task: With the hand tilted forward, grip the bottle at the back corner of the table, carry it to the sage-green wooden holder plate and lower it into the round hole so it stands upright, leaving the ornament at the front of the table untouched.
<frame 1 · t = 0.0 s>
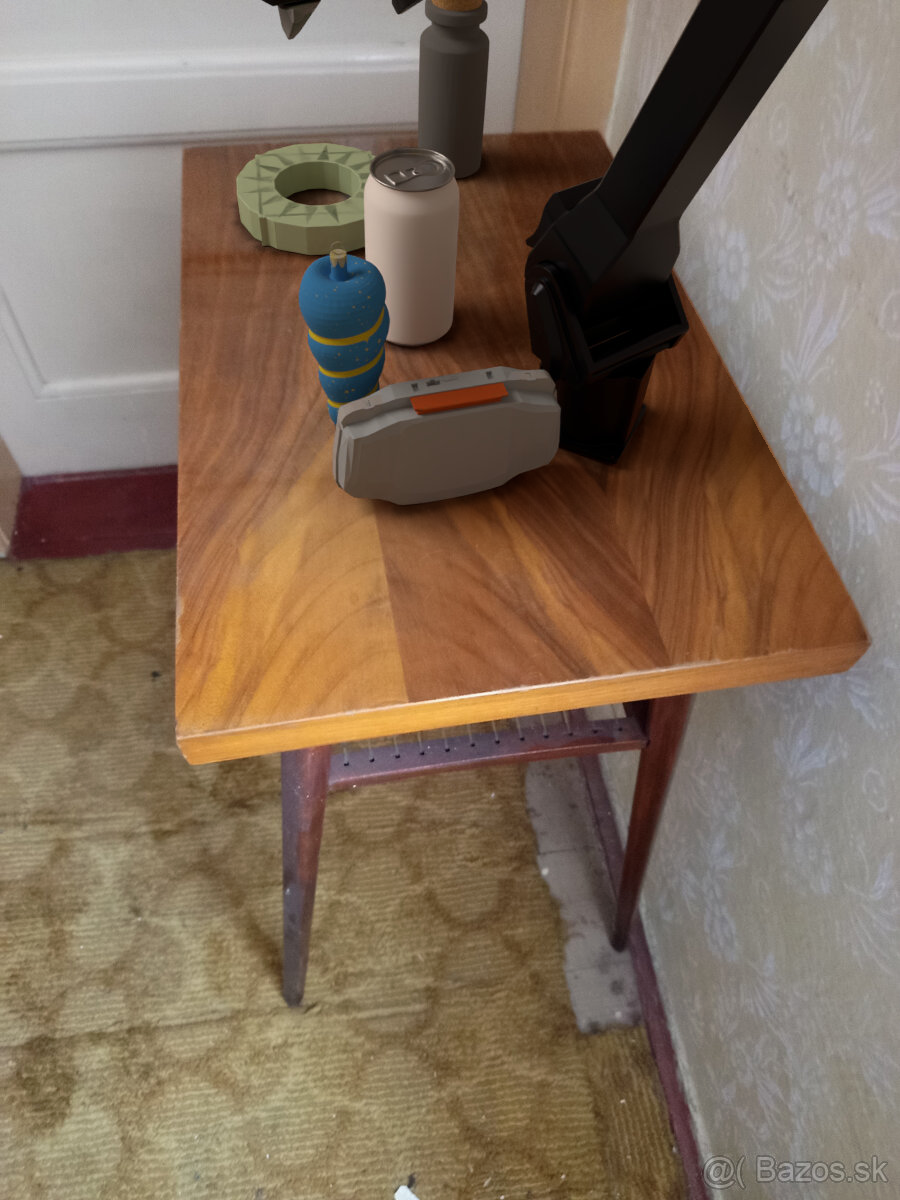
hand: (343, 20, 67), 15 cm above the table, tool tilted 35°, fingers open, 9 cm apart
holder: (319, 210, 78), on the table
ornament: (352, 450, 61), on the table
bottle: (449, 165, 84), on the table
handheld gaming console: (446, 486, 60), on the table
can: (410, 324, 70), on the table
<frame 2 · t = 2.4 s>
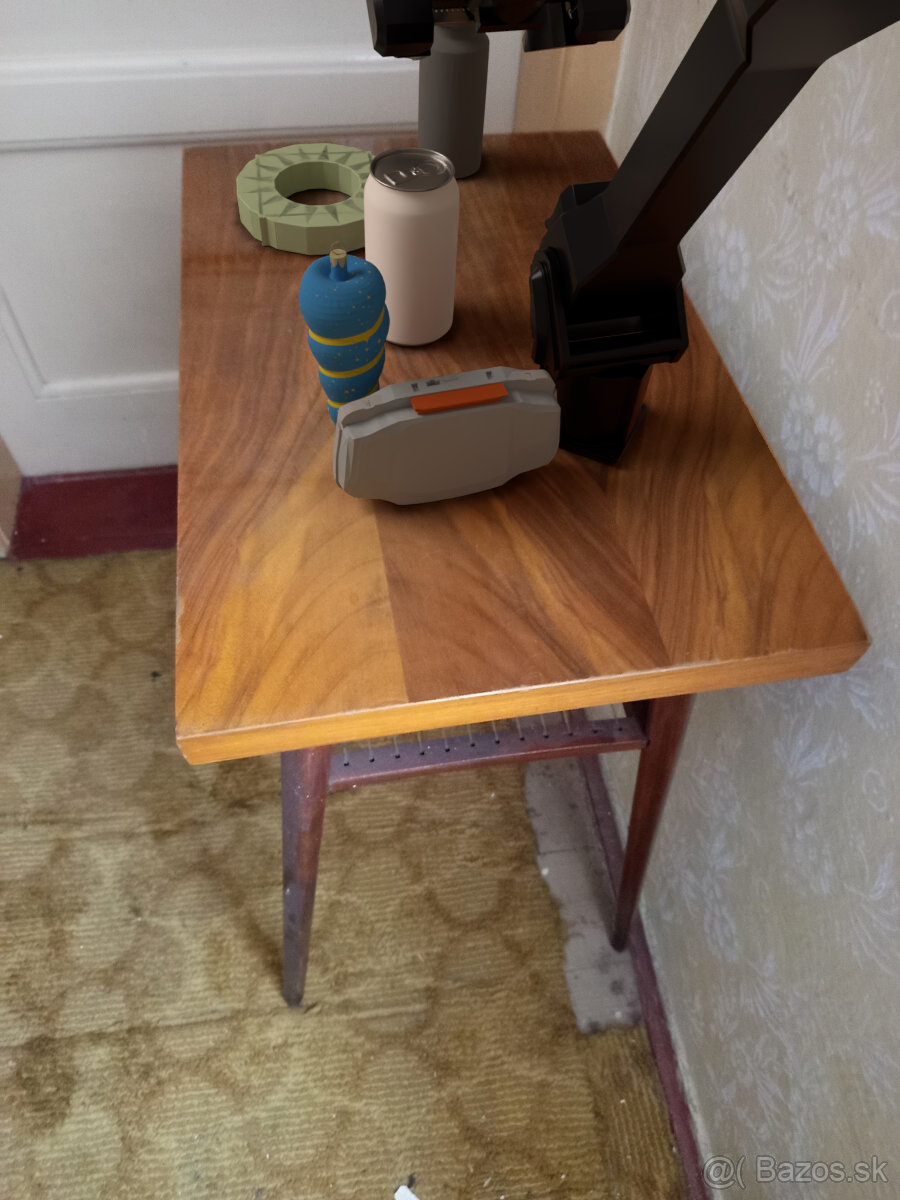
hand: (470, 49, 73), 11 cm above the table, tool tilted 45°, fingers open, 9 cm apart
nothing on the table moved.
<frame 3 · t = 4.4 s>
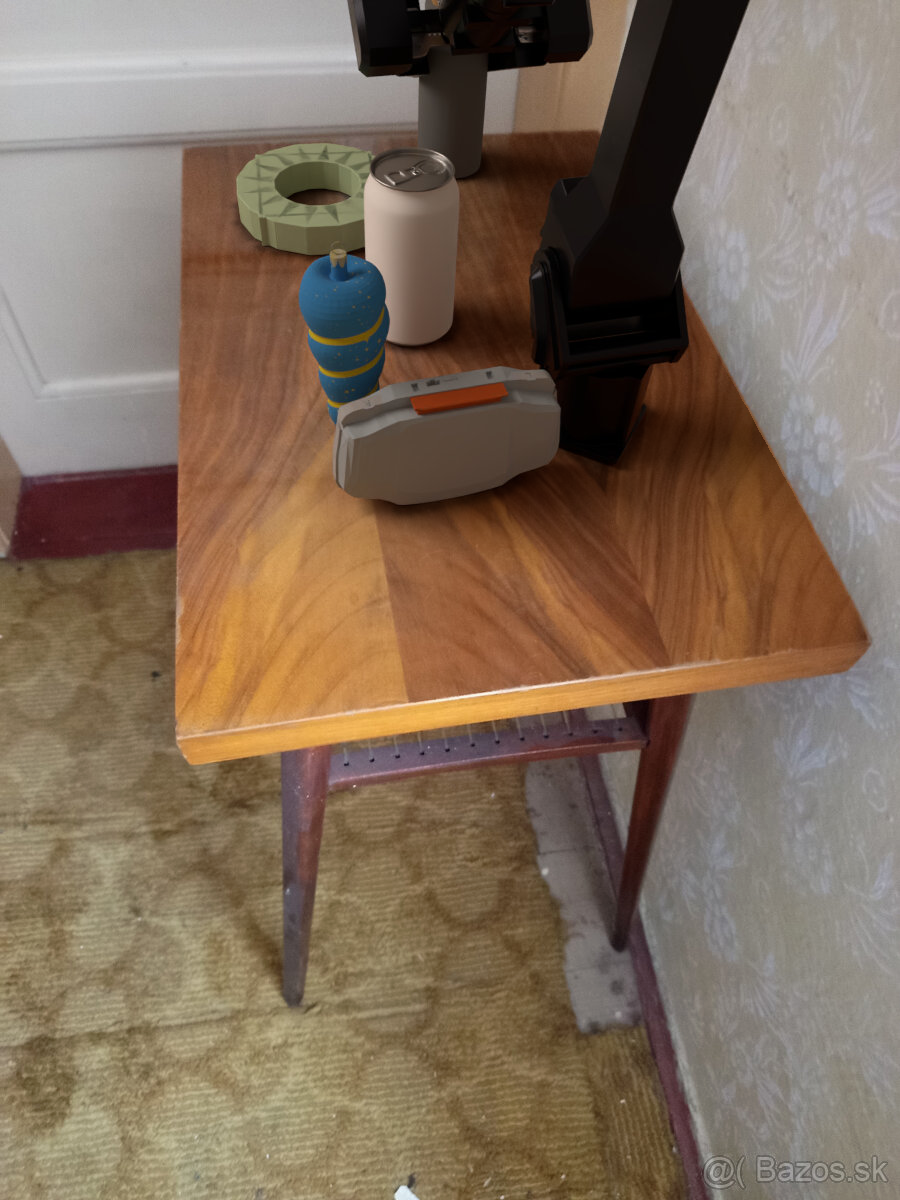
hand: (448, 68, 79), 8 cm above the table, tool tilted 45°, fingers closed on bottle, 6 cm apart
bottle: (448, 165, 84), on the table, touching gripper
everything else where it was.
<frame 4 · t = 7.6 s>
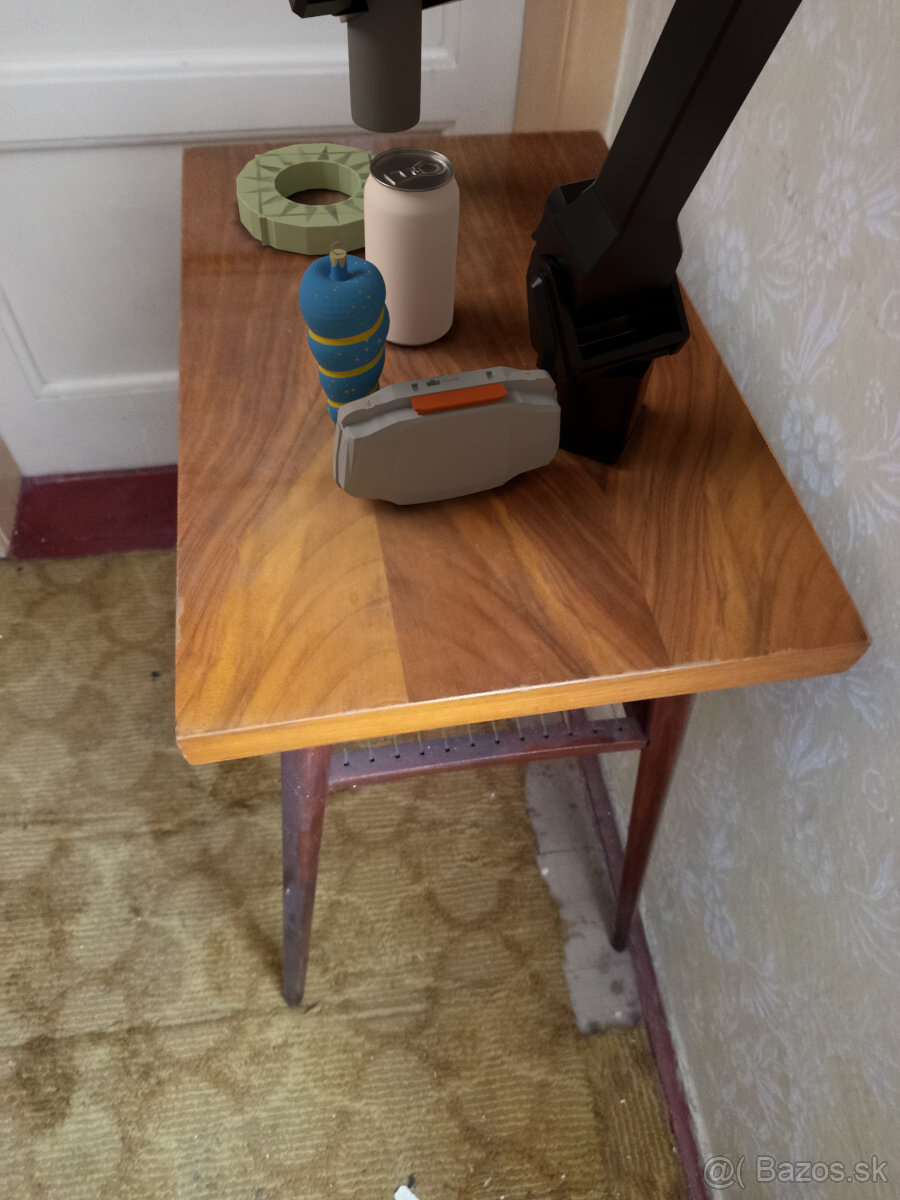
hand: (377, 11, 72), 13 cm above the table, tool tilted 45°, fingers closed on bottle, 6 cm apart
bottle: (385, 120, 77), point 5 cm above the table, touching gripper
everything else where it was.
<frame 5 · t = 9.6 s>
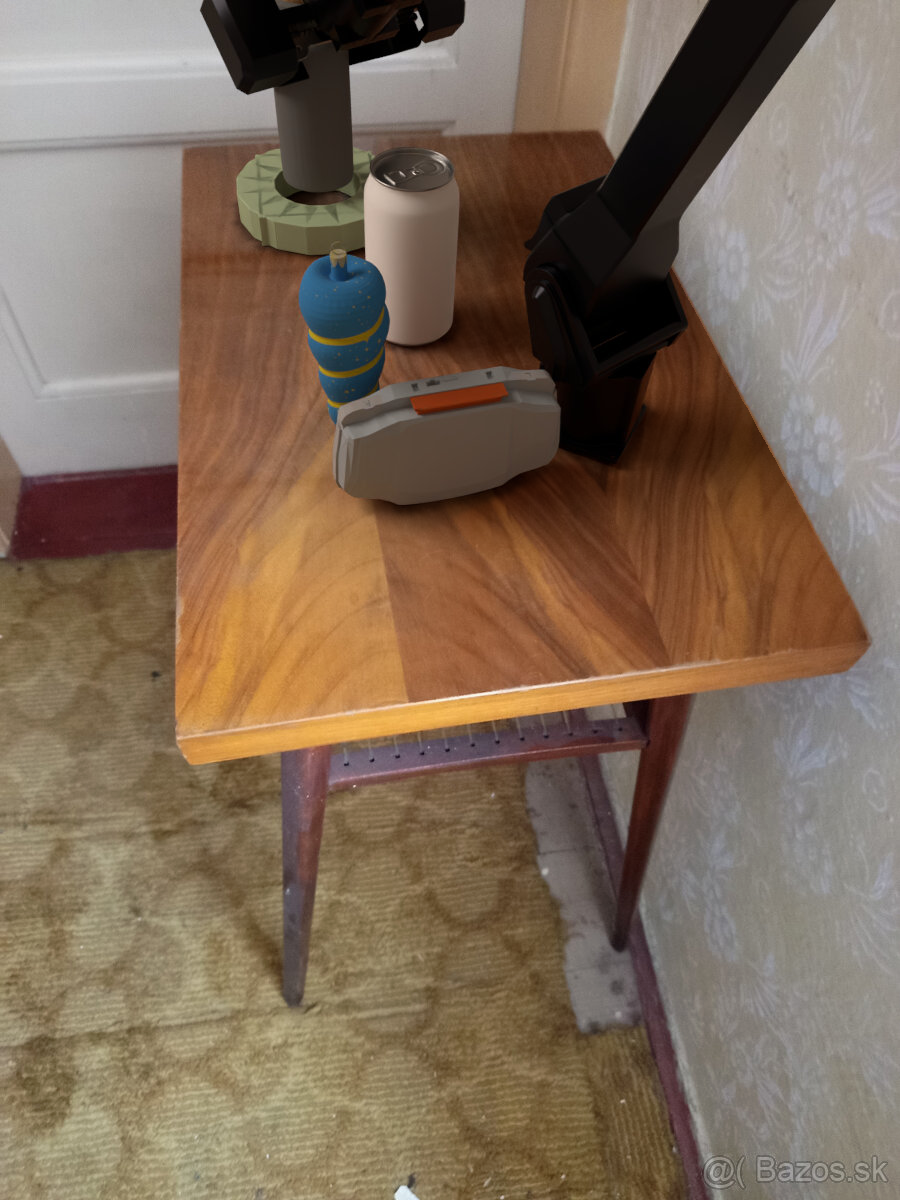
hand: (301, 71, 70), 11 cm above the table, tool tilted 45°, fingers closed on bottle, 6 cm apart
bottle: (318, 177, 76), point 3 cm above the table, touching gripper
everything else where it was.
when the fingers open (8 cm above the table, at t = 11.1 s): bottle stays where it is, resting in holder.
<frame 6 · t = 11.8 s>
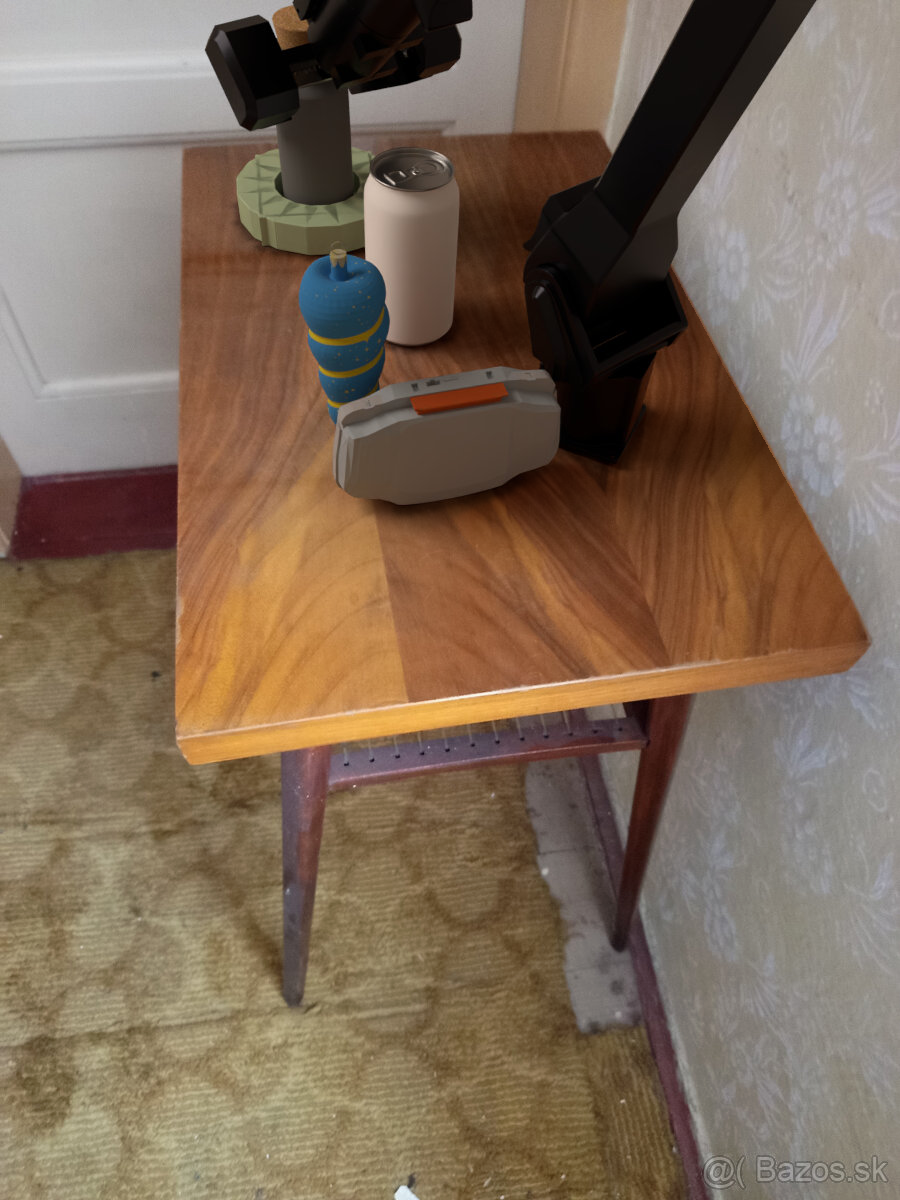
hand: (302, 102, 72), 8 cm above the table, tool tilted 45°, fingers open, 9 cm apart
bottle: (320, 213, 79), resting in holder
everything else where it was.
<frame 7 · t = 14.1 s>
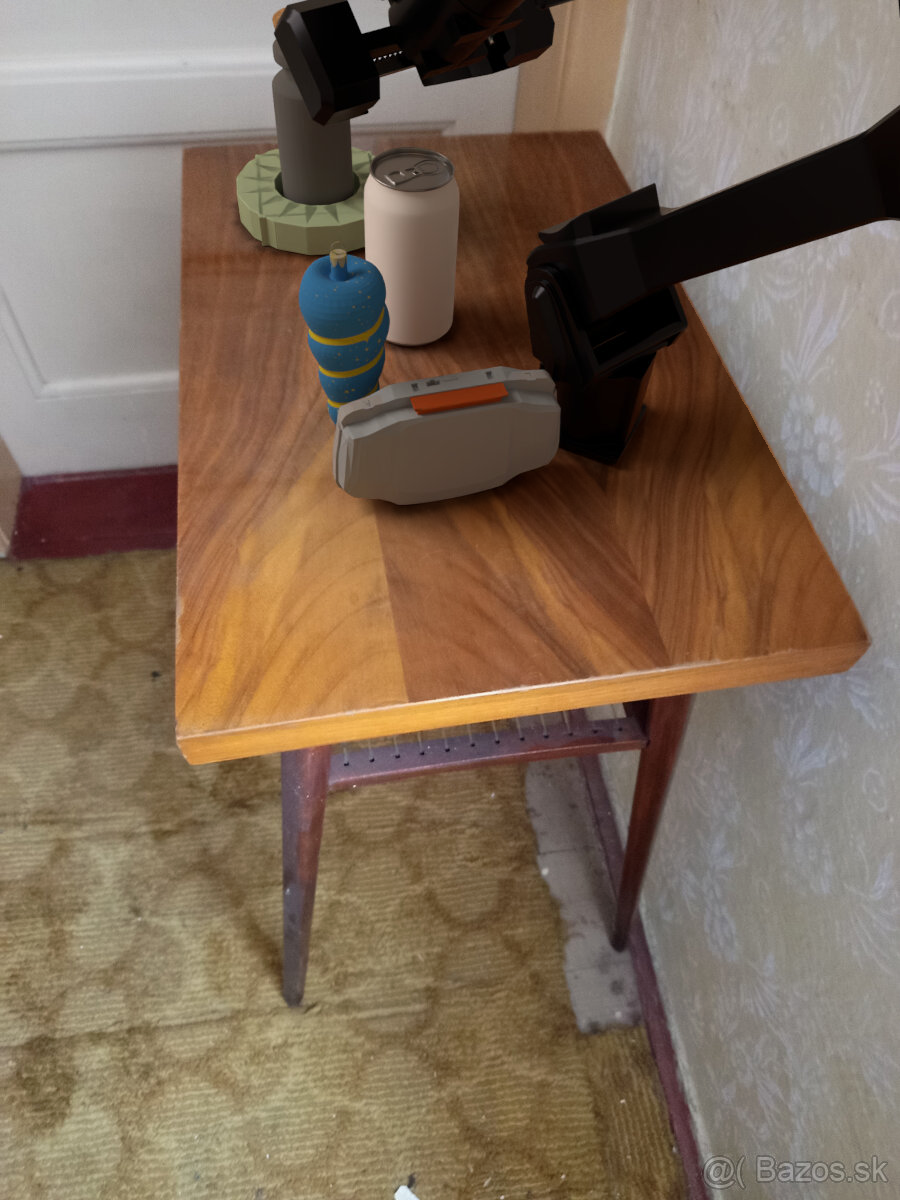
hand: (371, 95, 65), 12 cm above the table, tool tilted 45°, fingers open, 9 cm apart
nothing on the table moved.
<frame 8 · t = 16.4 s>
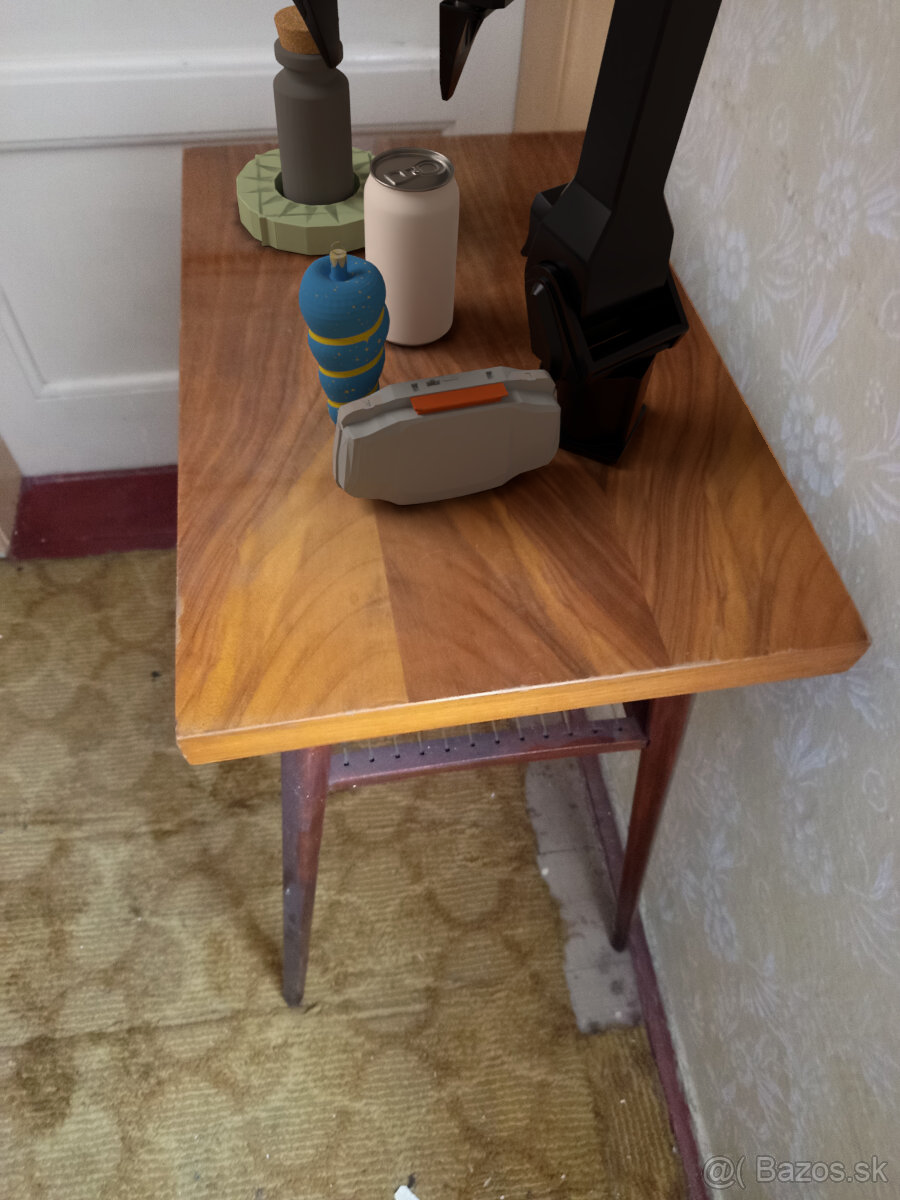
hand: (389, 82, 65), 13 cm above the table, tool pointing down, fingers open, 9 cm apart
bottle: (320, 213, 79), resting in holder, touching gripper
everything else where it was.
at the end: bottle 0.1 cm off-centre in the holder, point 0.0 cm above the holder's base; bottle tilted 0°; bottle touching gripper, table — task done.
